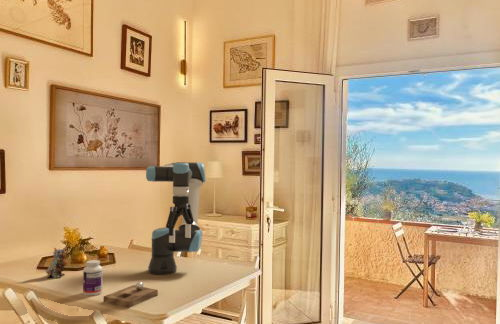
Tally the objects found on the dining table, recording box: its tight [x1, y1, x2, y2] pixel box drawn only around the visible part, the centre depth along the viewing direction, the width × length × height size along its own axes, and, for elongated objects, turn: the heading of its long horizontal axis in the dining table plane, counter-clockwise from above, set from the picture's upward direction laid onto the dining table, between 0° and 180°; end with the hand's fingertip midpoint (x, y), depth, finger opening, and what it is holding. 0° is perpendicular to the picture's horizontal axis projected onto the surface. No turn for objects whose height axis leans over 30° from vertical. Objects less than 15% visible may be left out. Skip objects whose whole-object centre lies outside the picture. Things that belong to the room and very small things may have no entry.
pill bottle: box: [82, 259, 103, 296], centre depth 186 cm, size 8×8×14 cm
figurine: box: [45, 247, 67, 280], centre depth 212 cm, size 9×9×15 cm
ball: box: [135, 281, 144, 290], centre depth 184 cm, size 4×4×4 cm
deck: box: [103, 284, 159, 309], centre depth 180 cm, size 14×18×2 cm
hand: (180, 240), depth 198 cm, fingers open, 13 cm apart
